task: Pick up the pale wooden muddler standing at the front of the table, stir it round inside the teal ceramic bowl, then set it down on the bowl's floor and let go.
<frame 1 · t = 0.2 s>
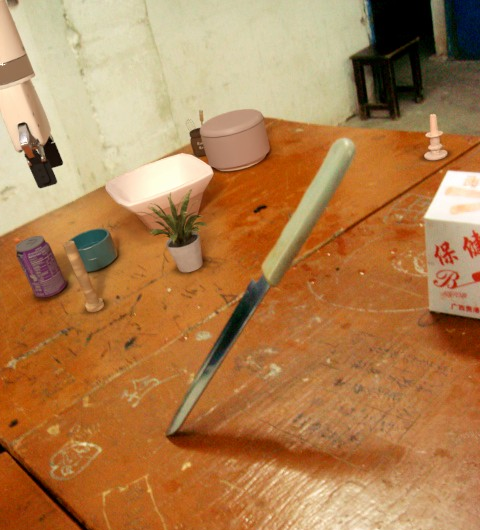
hand: (51, 175, 108), 29 cm above the table, tool pointing down, fingers open, 9 cm apart
muddler: (95, 307, 128), on the table
bowl: (170, 217, 158), on the table
beverage can: (52, 291, 139), on the table
container: (240, 160, 181), on the table
mixing bowl: (97, 262, 146), on the table
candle: (435, 156, 151), on the table
house plant: (186, 269, 133), on the table
utensil holder: (204, 153, 194), on the table
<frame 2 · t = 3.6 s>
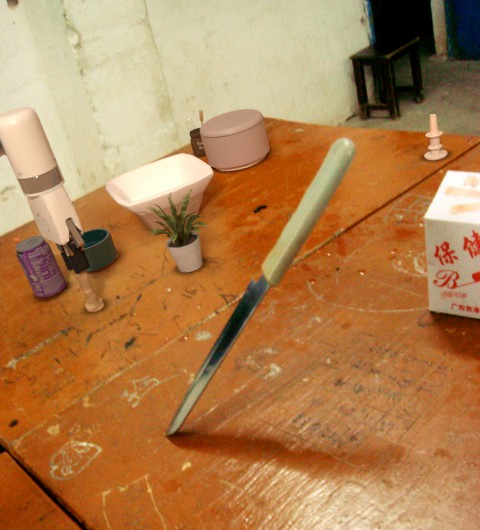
hand: (79, 268, 123), 9 cm above the table, tool pointing down, fingers closed on muddler, 2 cm apart
muddler: (95, 307, 128), on the table, touching gripper
everything else where it was.
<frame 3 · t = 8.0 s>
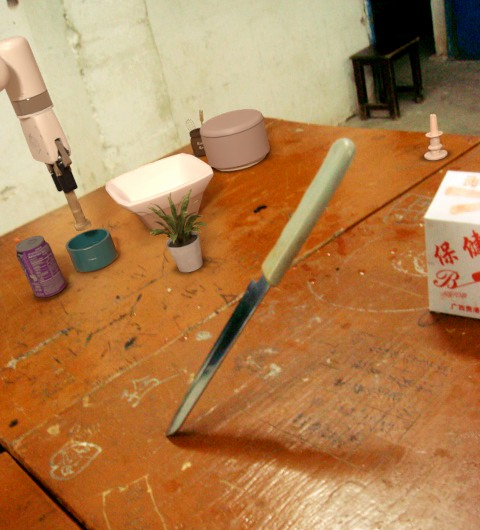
hand: (67, 189, 136), 18 cm above the table, tool pointing down, fingers closed on muddler
muddler: (83, 227, 141), point 9 cm above the table, touching gripper
everything else where it was.
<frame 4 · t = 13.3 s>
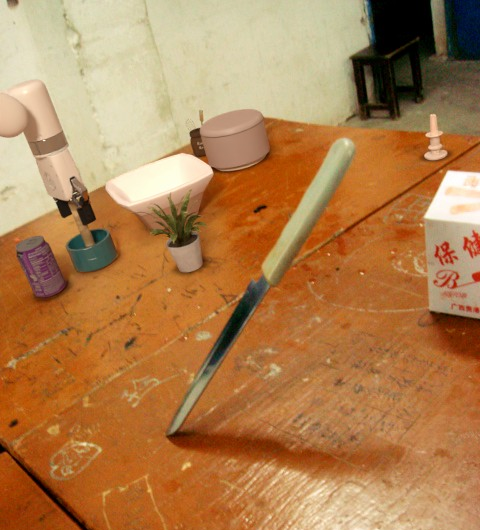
hand: (79, 219, 140), 11 cm above the table, tool pointing down, fingers open, 9 cm apart
muddler: (96, 259, 146), point 1 cm above the table, touching mixing bowl
everything else where it was.
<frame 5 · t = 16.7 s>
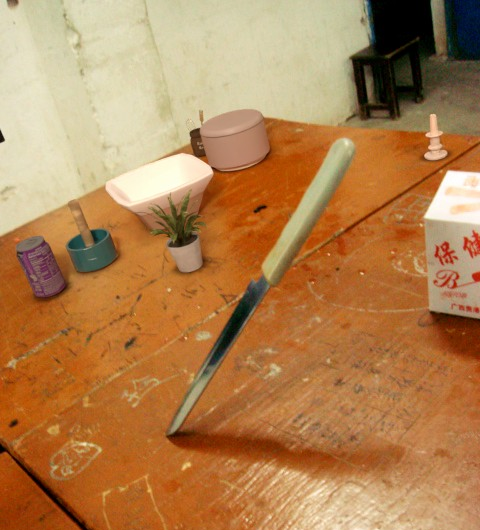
nothing on the table moved.
at the end: muddler inside the target area in the mixing bowl (0.1 cm from its centre), point 0.6 cm above the mixing bowl's base; muddler moved 21.2 cm from its start; the gripper is holding nothing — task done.
